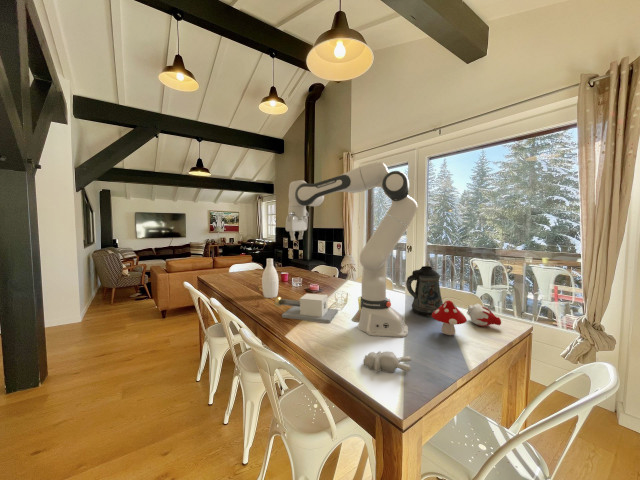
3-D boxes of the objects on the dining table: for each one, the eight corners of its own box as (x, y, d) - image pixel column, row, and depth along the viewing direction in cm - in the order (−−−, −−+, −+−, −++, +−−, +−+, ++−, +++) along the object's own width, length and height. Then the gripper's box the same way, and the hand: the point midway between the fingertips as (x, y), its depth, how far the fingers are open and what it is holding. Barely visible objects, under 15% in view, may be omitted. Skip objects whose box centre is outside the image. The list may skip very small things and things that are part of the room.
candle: (466, 316, 130) (501, 327, 120) (460, 322, 122) (497, 335, 112) (469, 299, 129) (505, 309, 119) (463, 304, 121) (501, 316, 111)
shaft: (308, 307, 139) (308, 298, 139) (305, 310, 134) (305, 301, 134) (279, 304, 145) (278, 295, 144) (274, 307, 140) (274, 298, 139)
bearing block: (337, 312, 140) (337, 294, 139) (329, 323, 125) (329, 303, 124) (294, 307, 148) (294, 290, 147) (281, 317, 133) (281, 298, 132)
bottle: (282, 295, 173) (281, 258, 172) (271, 299, 164) (270, 260, 162) (270, 293, 179) (269, 257, 178) (258, 297, 170) (257, 259, 168)
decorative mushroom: (469, 343, 102) (470, 307, 101) (432, 338, 107) (432, 303, 106) (463, 330, 115) (464, 297, 114) (430, 326, 120) (430, 294, 119)
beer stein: (450, 313, 136) (451, 267, 135) (429, 321, 125) (430, 271, 124) (423, 305, 150) (423, 263, 148) (401, 312, 139) (402, 266, 137)
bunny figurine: (366, 347, 92) (409, 349, 87) (368, 360, 92) (411, 363, 87) (361, 360, 83) (409, 363, 78) (362, 375, 83) (411, 379, 78)
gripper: (294, 212, 118) (294, 241, 120) (309, 213, 138) (309, 238, 139) (282, 211, 120) (282, 240, 121) (299, 213, 140) (298, 238, 141)
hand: (296, 239), depth 130 cm, fingers open, 8 cm apart
